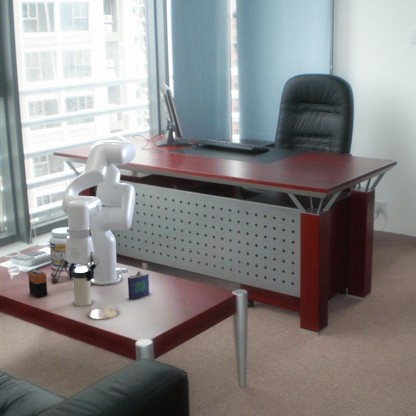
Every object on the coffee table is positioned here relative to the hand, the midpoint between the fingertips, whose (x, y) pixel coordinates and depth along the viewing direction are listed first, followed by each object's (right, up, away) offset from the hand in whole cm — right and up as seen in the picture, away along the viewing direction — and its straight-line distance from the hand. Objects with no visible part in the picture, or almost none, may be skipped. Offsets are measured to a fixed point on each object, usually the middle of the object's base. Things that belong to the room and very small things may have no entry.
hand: (81, 278), depth 254 cm
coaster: (+10, -12, -8) cm, 18 cm away
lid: (0, +3, -1) cm, 3 cm away
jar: (0, -10, +2) cm, 10 cm away
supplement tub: (-21, 0, +44) cm, 49 cm away
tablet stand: (-17, -4, +28) cm, 33 cm away
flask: (+19, -9, +10) cm, 24 cm away
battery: (-20, -8, +10) cm, 24 cm away
